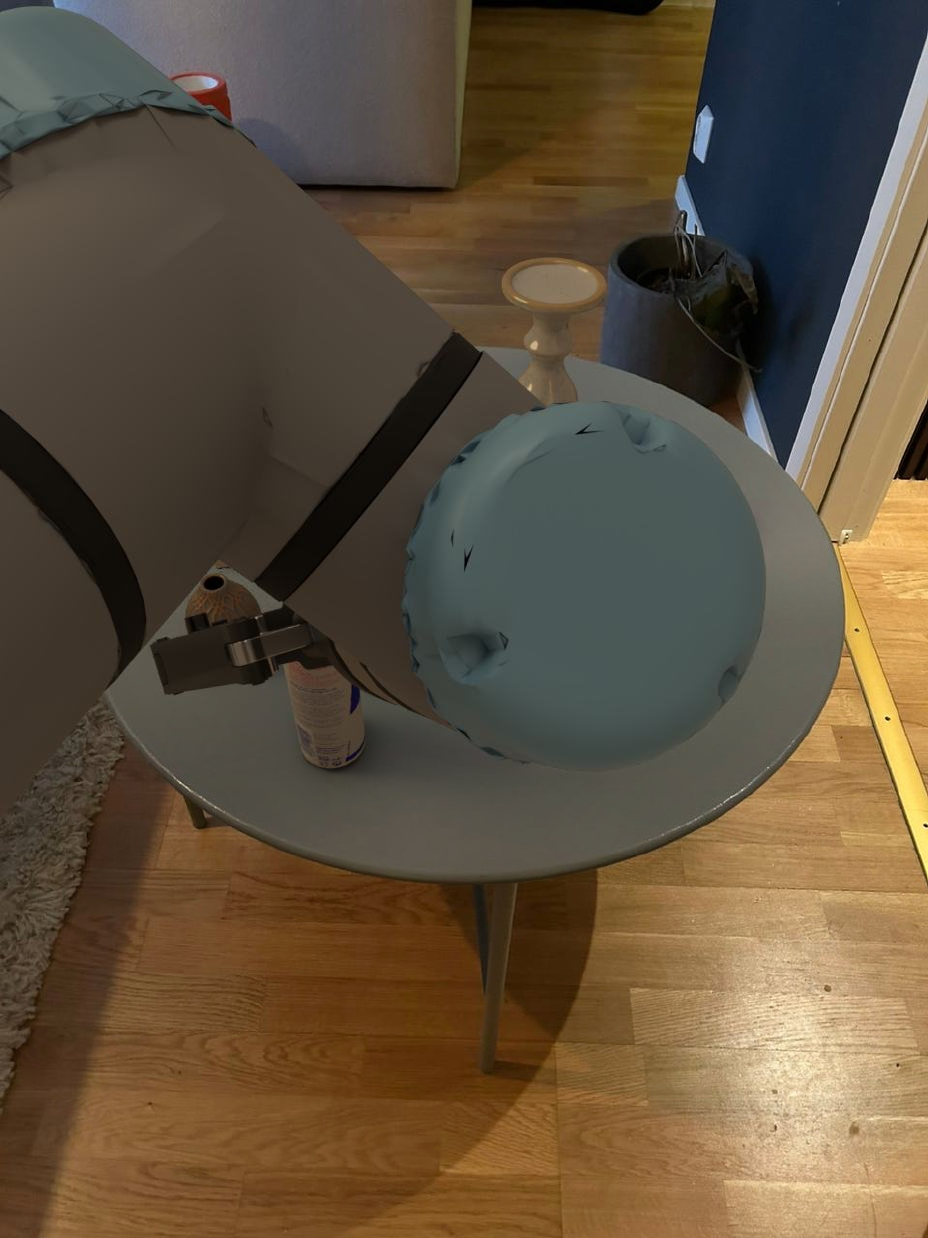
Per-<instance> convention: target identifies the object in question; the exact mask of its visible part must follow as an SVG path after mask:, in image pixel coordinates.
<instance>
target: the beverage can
mask: <svg viewBox="0 0 928 1238" xmlns="http://www.w3.org/2000/svg"><path fill="white" fill-rule="evenodd" d="M282 666H283V670H284V675H285V680H286V685H287V689H288V695H289V698H290V704H291V708H292V713H293V717H294V722H295V727H296V731H297V736H298V740H299V744H300V745H299V746H300V750H301V753H302V755H303V757H304V758H305V759H306V760H307V761H308V762H309V763H311V764H312V765H314V766H316V767H319V768H324V769H337V768H341V767H344V766H347V765H349V764H351V763H352V762H354V761H356V760H357V759H358V758H359V757H360V756H361V754H362V753H363V751H364V749H365V746H366V743H367V742H366V741H367V740H366V739H367V738H366V731H365V730H366V729H365V723H364V715H363V706H362V705H363V704H362V699H361V690H360V689H359V688H357V687H356V686H354V685H353V684H351V683H350V682H349V681H347V680H346V679H345V678H344V677H343V676H342V675H341V674H340V673H339V672H338V671H337V670H336V669H335V668H334V667H333V665H332V666H327V667H322V668H318V669H313V670H307V669H305V668H304V667H303V666H302V665H301V664H300V663H299V662H291V663H287V664H282Z"/></svg>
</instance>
